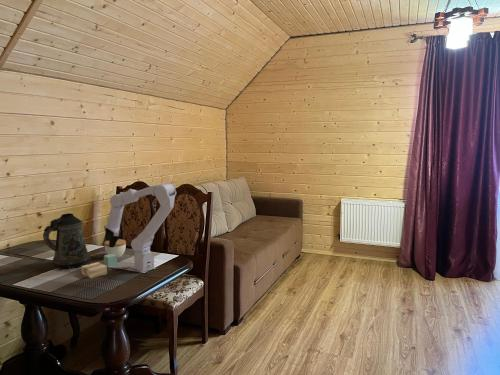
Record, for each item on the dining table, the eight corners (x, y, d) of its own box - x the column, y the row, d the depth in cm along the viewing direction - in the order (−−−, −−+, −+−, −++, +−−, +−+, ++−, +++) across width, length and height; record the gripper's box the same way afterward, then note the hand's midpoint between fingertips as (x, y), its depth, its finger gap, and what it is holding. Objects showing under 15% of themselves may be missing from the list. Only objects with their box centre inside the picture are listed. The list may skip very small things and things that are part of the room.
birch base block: (107, 274, 181) (106, 266, 181) (90, 279, 175) (89, 270, 175) (98, 270, 186) (98, 262, 186) (81, 274, 180) (81, 266, 180)
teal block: (117, 265, 193) (117, 255, 192) (108, 267, 190) (108, 257, 189) (112, 263, 196) (112, 253, 195) (104, 265, 193) (103, 255, 192)
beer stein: (96, 260, 199) (95, 212, 196) (69, 273, 181) (67, 220, 177) (69, 257, 204) (67, 209, 200) (40, 269, 185) (37, 217, 182)
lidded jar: (120, 259, 201) (119, 242, 200) (100, 258, 203) (100, 240, 202) (129, 253, 212) (129, 236, 211) (111, 252, 213) (110, 235, 212)
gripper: (103, 211, 194) (98, 237, 197) (110, 223, 182) (104, 250, 185) (117, 212, 198) (112, 237, 201) (125, 224, 186) (119, 250, 189)
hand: (109, 243), depth 193 cm, fingers open, 7 cm apart
